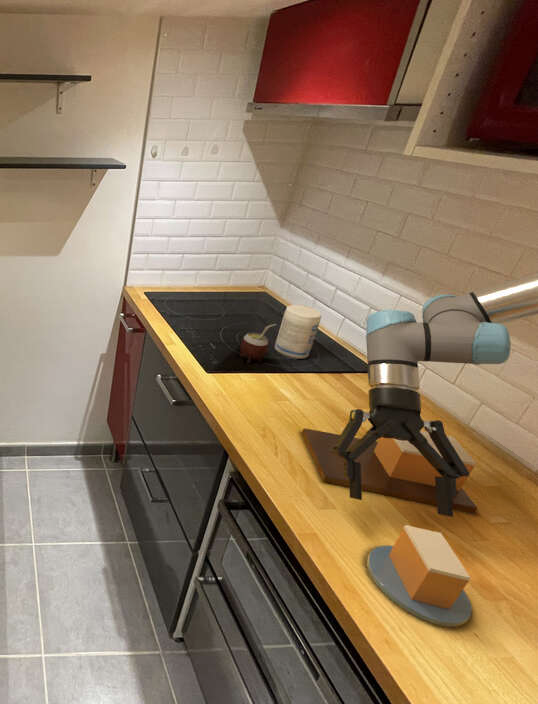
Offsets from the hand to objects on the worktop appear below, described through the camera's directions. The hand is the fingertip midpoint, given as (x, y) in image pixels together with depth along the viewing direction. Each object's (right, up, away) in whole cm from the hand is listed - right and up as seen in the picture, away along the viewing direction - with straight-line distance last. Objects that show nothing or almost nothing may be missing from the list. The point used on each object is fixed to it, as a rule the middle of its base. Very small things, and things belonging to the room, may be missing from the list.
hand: (399, 507), depth 80 cm
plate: (-3, -10, -7) cm, 12 cm away
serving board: (+10, +1, +17) cm, 20 cm away
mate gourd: (+6, +19, +58) cm, 62 cm away
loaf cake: (+16, +1, +15) cm, 22 cm away
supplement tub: (+21, +21, +63) cm, 69 cm away
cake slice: (-3, -9, -7) cm, 12 cm away
